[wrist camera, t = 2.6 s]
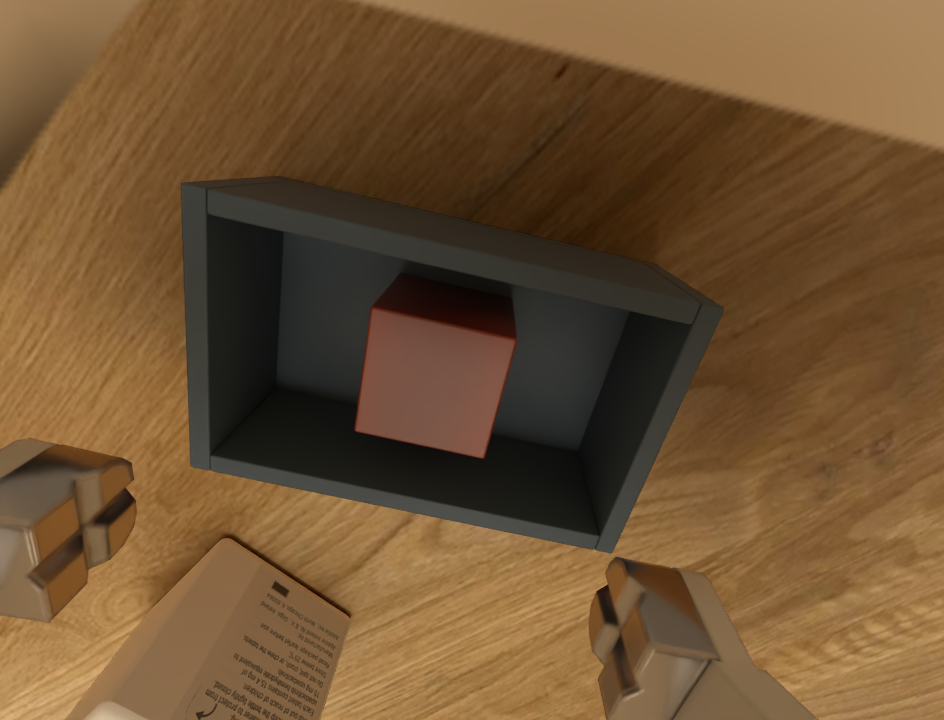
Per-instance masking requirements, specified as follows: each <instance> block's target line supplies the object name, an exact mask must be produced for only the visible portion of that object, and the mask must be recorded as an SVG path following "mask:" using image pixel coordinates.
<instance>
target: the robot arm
mask: <svg viewBox="0 0 944 720" xmlns="http://www.w3.org/2000/svg"><path fill="white" fill-rule="evenodd" d="M133 480H134V476H133V469H132V463H131V462H129V461H127V460H125V459H123V458H119V457H115V456H110V455H106V454H102V453H97V452H93V451H88V450H84V449H79V448H75V447H71V446H66V445H58V444H54V443H49V442H45V441H41V440H37V439H32V438H29V439H23V440H17V441H15V442H13V443H11V444H9V445H8V446H6V447H4V448H3V449H1V450H0V615H1V616H8V617H15V618H21V619H28V620H34V621H41V622H48V623H49V622H50V621H51V620H52V619H53V618H54V617H55V616H56V615H57V614H58V613H59V612H60V611H61V610H62V609H63V608H64V607H65V606H66V605H67V604H68V603H69V602H70V601H71V600H72V599H73V598H74V597H75V596H76V595H77V593H78V592H79V591H80V590H81V589H82V588H83V587H84V586H85V585H86V584H87V581H88V571H89V569H91V568H93V567H95V566H97V565H99V564H102V563H104V562H106V561H108V560H110V559H111V558H112V557H113V556H114V555H115V554H116V553H117V552H118V551H119V549H120V548H121V547H122V546H123V545H124V544H125V542H126V540H127V538H128V536H129V535H130V533H131V531H132V529H133V527H134V524H135V519H136V514H137V508H136V500H135V499H134V498H133V496H132V495H131V494H130V493H129V492H128V490H127V489H126V487H127V486H128V485H129V484H130V483H131V482H132V481H133ZM605 574H606V578H607V582H608V585H606V586H605V587H603V588H601V589H599V590H598V591H597V592H596V594H595V596H594V599H593V601H592V604H591V608H590V616H589V636H590V642H591V647H592V651H593V653H594V654H595V655H596V656H597V658H598V659H599V660H600V662H601V663H602V664H603V665H604V668H603V670H602V672H601V674H600V676H599V678H598V682H599V686H600V691H601V696H602V700H603V705H604V710H605V715H606V719H607V720H818V719H817V718H816V717H815V716H814V715H813V714H812V713H811V712H810V711H809V710H808V709H806V708H805V707H804V706H803V705H802V704H801V703H800V702H799V701H798V700H797V699H796V698H795V697H794V696H793V695H792V694H790V693H789V692H788V691H787V690H786V689H785V688H784V687H783V686H782V685H781V684H780V683H779V682H778V681H777V680H776V679H775V678H773V677H772V676H771V675H770V674H769V673H768V672H767V671H766V670H761V669H757V668H756V667H755V665H754V663H753V661H752V659H751V657H750V656H749V654H748V652H747V650H746V648H745V646H744V644H743V642H742V640H741V638H740V637H739V635H738V633H737V631H736V629H735V627H734V625H733V623H732V621H731V619H730V618H729V616H728V614H727V612H726V610H725V608H724V606H723V604H722V602H721V600H720V598H719V597H718V595H717V593H716V591H715V589H714V587H713V585H712V583H711V581H710V580H709V579H708V578H707V577H706V576H705V575H704V574H703V573H700V572H695V571H689V570H684V569H678V568H670V567H666V566H661V565H656V564H650V563H645V562H640V561H635V560H629V559H624V558H619V557H615V558H614V559H613V560H612V561H611V562H610V564H609V566H608V568H607V570H606V572H605Z"/></svg>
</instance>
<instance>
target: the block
mask: <svg viewBox="0 0 944 720" xmlns="http://www.w3.org/2000/svg"><path fill="white" fill-rule="evenodd" d="M516 344H517V332H516V323H515V314H514V305H513V299H512V298H509V297H504V296H500V295H496V294H491V293H487V292H482V291H478V290H474V289H469V288H465V287H460V286H456V285H452V284H447V283H443V282H438V281H434V280H430V279H425V278H421V277H416V276H412V275H408V274H403V273H400V274H399V275H398V276H397V277H396V279H395V280H394V281H393V282H392V283H391V284H390V285H389V287H388V288H387V289H386V290H385V291H384V292H383V294H382V295H381V296H380V297H379V298H378V299H377V301H376V302H375V303H374V304H373V305H372V307H371V309H370V316H369V324H368V331H367V338H366V346H365V353H364V361H363V368H362V376H361V383H360V390H359V398H358V405H357V413H356V420H355V427H354V429H355V431H356V432H359V433H364V434H369V435H373V436H378V437H383V438H387V439H392V440H397V441H402V442H406V443H411V444H416V445H420V446H425V447H430V448H434V449H439V450H444V451H449V452H453V453H458V454H463V455H467V456H472V457H477V458H481V459H483V458H484V457H485V456H486V452H487V449H488V445H489V441H490V438H491V434H492V431H493V427H494V424H495V420H496V416H497V413H498V409H499V406H500V402H501V398H502V395H503V391H504V388H505V384H506V380H507V377H508V373H509V370H510V366H511V362H512V359H513V355H514V352H515V348H516Z"/></svg>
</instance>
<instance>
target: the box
mask: <svg viewBox="0 0 944 720" xmlns="http://www.w3.org/2000/svg"><path fill="white" fill-rule="evenodd" d="M181 209H182V237H183V265H184V294H185V322H186V350H187V379H188V407H189V435H190V464H191V467H194V468H199V469H204V470H211V471H214V472H219V473H224V474H228V475H233V476H238V477H243V478H248V479H253V480H257V481H262V482H267V483H272V484H277V485H282V486H286V487H291V488H296V489H301V490H306V491H311V492H316V493H320V494H325V495H330V496H335V497H340V498H345V499H349V500H354V501H359V502H364V503H369V504H374V505H378V506H383V507H388V508H393V509H398V510H403V511H408V512H412V513H417V514H422V515H427V516H432V517H437V518H441V519H446V520H451V521H456V522H461V523H466V524H470V525H475V526H480V527H485V528H490V529H495V530H499V531H504V532H509V533H514V534H519V535H524V536H529V537H533V538H538V539H543V540H548V541H553V542H558V543H562V544H567V545H572V546H577V547H582V548H587V549H591V550H594V548H595V550H598V551H602V552H607V553H612V552H613V551H614V548H615V546H616V544H617V542H618V540H619V538H620V535H621V533H622V531H623V529H624V527H625V524H626V522H627V520H628V518H629V516H630V514H631V511H632V509H633V507H634V505H635V503H636V501H637V498H638V496H639V494H640V492H641V490H642V488H643V485H644V483H645V481H646V479H647V477H648V475H649V472H650V470H651V468H652V466H653V464H654V462H655V459H656V457H657V455H658V453H659V451H660V448H661V446H662V444H663V442H664V440H665V438H666V435H667V433H668V431H669V429H670V427H671V425H672V422H673V420H674V418H675V416H676V414H677V412H678V409H679V407H680V405H681V403H682V401H683V399H684V396H685V394H686V392H687V390H688V388H689V385H690V383H691V381H692V379H693V377H694V375H695V372H696V370H697V368H698V366H699V364H700V362H701V359H702V357H703V355H704V353H705V351H706V349H707V346H708V344H709V342H710V340H711V338H712V336H713V333H714V331H715V329H716V327H717V325H718V323H719V320H720V318H721V316H722V314H723V312H724V308H723V307H721V306H720V305H718V304H717V303H715V302H713V301H712V300H710V299H709V298H707V297H706V296H704V295H703V294H701V293H700V292H698V291H697V290H695V289H694V288H692V287H690V286H689V285H687V284H686V283H684V282H683V281H681V280H680V279H678V278H677V277H675V276H674V275H672V274H671V273H669V272H667V271H666V270H664V269H663V268H661V267H660V266H658V265H656V264H651V263H647V262H643V261H639V260H634V259H630V258H626V257H621V256H617V255H613V254H609V253H604V252H600V251H596V250H592V249H587V248H583V247H579V246H574V245H570V244H566V243H562V242H557V241H553V240H549V239H544V238H540V237H536V236H532V235H527V234H523V233H519V232H514V231H510V230H506V229H502V228H497V227H493V226H489V225H484V224H480V223H476V222H472V221H467V220H463V219H459V218H455V217H450V216H446V215H442V214H437V213H433V212H429V211H425V210H420V209H416V208H412V207H407V206H403V205H399V204H395V203H390V202H386V201H382V200H377V199H373V198H369V197H365V196H360V195H356V194H352V193H347V192H343V191H339V190H335V189H330V188H326V187H322V186H318V185H313V184H309V183H305V182H300V181H296V180H292V179H288V178H283V177H279V176H274V177H257V178H243V179H229V180H215V181H200V182H186V183H181ZM400 273H403V274H408V275H412V276H416V277H421V278H425V279H430V280H434V281H438V282H443V283H447V284H452V285H456V286H460V287H465V288H469V289H474V290H478V291H482V292H487V293H491V294H496V295H500V296H504V297H509V298H512V299H513V305H514V314H515V323H516V332H517V344H516V348H515V352H514V355H513V359H512V362H511V366H510V370H509V373H508V377H507V380H506V384H505V388H504V391H503V395H502V398H501V402H500V406H499V409H498V413H497V416H496V420H495V424H494V427H493V431H492V434H491V438H490V441H489V445H488V449H487V452H486V456H485V457H484V458H483V459H481V458H477V457H472V456H467V455H463V454H458V453H453V452H449V451H444V450H439V449H434V448H430V447H425V446H420V445H416V444H411V443H406V442H402V441H397V440H392V439H387V438H383V437H378V436H373V435H369V434H364V433H359V432H356V431H355V429H354V427H355V420H356V413H357V405H358V398H359V390H360V383H361V376H362V368H363V361H364V353H365V346H366V338H367V331H368V324H369V316H370V309H371V307H372V305H373V304H374V303H375V302H376V301H377V299H378V298H379V297H380V296H381V295H382V294H383V292H384V291H385V290H386V289H387V288H388V287H389V285H390V284H391V283H392V282H393V281H394V280H395V279H396V277H397V276H398V275H399V274H400Z"/></svg>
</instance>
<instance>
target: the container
mask: <svg viewBox="0 0 944 720" xmlns="http://www.w3.org/2000/svg"><path fill="white" fill-rule="evenodd" d="M349 627H350V618H349V617H348V616H347V615H346V614H345V613H343V612H341V611H340V610H338V609H337V608H335V607H334V606H332V605H331V604H329V603H328V602H326V601H325V600H323V599H322V598H320V597H319V596H317V595H316V594H314V593H313V592H311V591H310V590H308V589H307V588H305V587H304V586H302V585H301V584H299V583H297V582H296V581H294V580H293V579H291V578H290V577H288V576H287V575H285V574H284V573H282V572H281V571H279V570H278V569H276V568H275V567H273V566H272V565H270V564H269V563H267V562H266V561H264V560H263V559H261V558H260V557H258V556H256V555H255V554H253V553H252V552H250V551H249V550H247V549H246V548H244V547H243V546H241V545H240V544H238V543H237V542H235V541H234V540H232V539H230V538H223V539H221V540H220V541H219V542H218V543H217V544H216V545H215V546H214V547H213V548H212V549H211V550H210V551H209V552H208V553H207V554H206V555H205V556H204V557H203V558H202V559H201V560H200V561H199V562H198V563H197V564H196V565H195V566H194V567H193V568H192V569H191V570H190V571H189V572H188V573H187V574H186V575H185V576H184V577H183V578H182V579H181V580H180V581H179V582H178V583H177V584H176V585H175V586H174V587H173V588H172V589H171V590H170V591H169V592H168V593H167V594H166V595H165V596H164V597H163V598H162V599H161V600H160V601H159V602H158V603H157V604H156V605H155V606H154V607H153V608H152V609H151V610H150V611H149V612H148V613H147V614H146V616H145V617H144V618H143V619H142V621H141V622H140V623H139V625H138V626H137V627H136V628H135V630H134V631H133V632H132V634H131V635H130V636H129V638H128V639H127V640H126V641H125V643H124V644H123V645H122V647H121V648H120V649H119V651H118V652H117V653H116V654H115V656H114V657H113V658H112V660H111V661H110V662H109V663H108V665H107V666H106V667H105V669H104V670H103V671H102V673H101V674H100V675H99V676H98V678H97V679H96V680H95V682H94V683H93V684H92V686H91V687H90V688H89V689H88V691H87V692H86V693H85V695H84V696H83V697H82V699H81V700H80V701H79V702H78V704H77V705H76V706H75V708H74V709H73V710H72V711H71V713H70V714H69V715H68V717H67V718H66V719H65V720H320V718H321V715H322V712H323V709H324V706H325V703H326V699H327V696H328V693H329V690H330V687H331V684H332V680H333V677H334V674H335V671H336V668H337V665H338V661H339V658H340V655H341V652H342V649H343V646H344V642H345V639H346V636H347V633H348V630H349Z"/></svg>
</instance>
